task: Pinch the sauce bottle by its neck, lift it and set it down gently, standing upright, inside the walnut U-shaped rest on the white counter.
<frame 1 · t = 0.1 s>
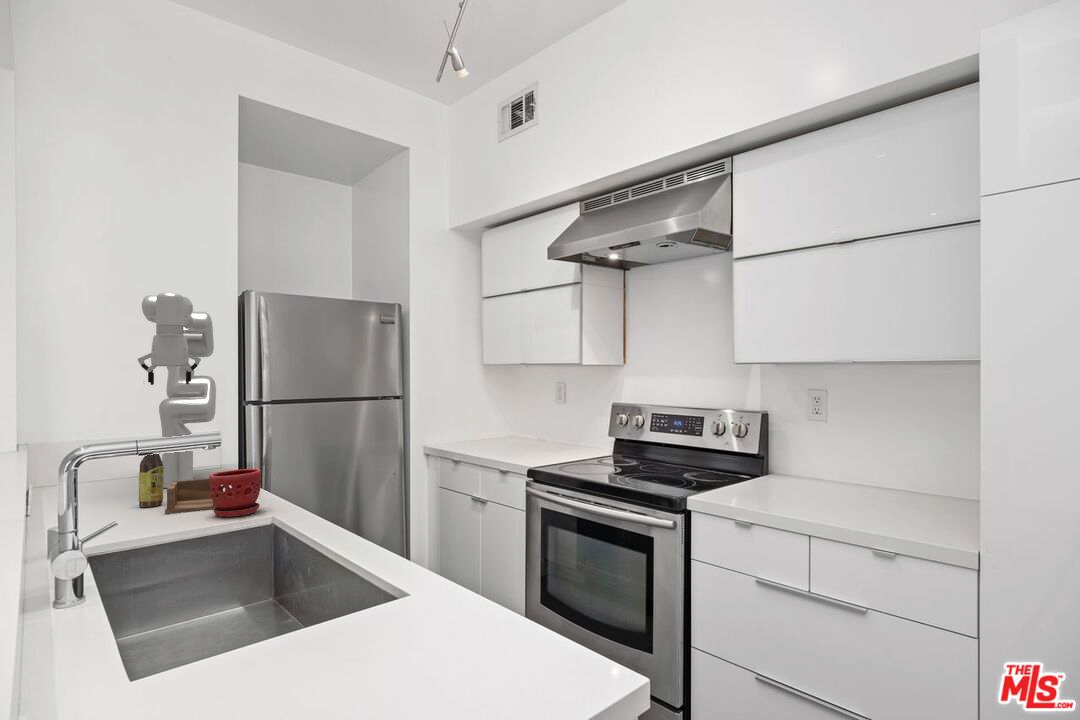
hand: (170, 384, 189), 37 cm above the worktop, tool pointing down, fingers open, 9 cm apart
sauce bottle: (151, 506, 178), on the worktop
u rest: (195, 506, 176), on the worktop
plant pot: (235, 514, 167), on the worktop
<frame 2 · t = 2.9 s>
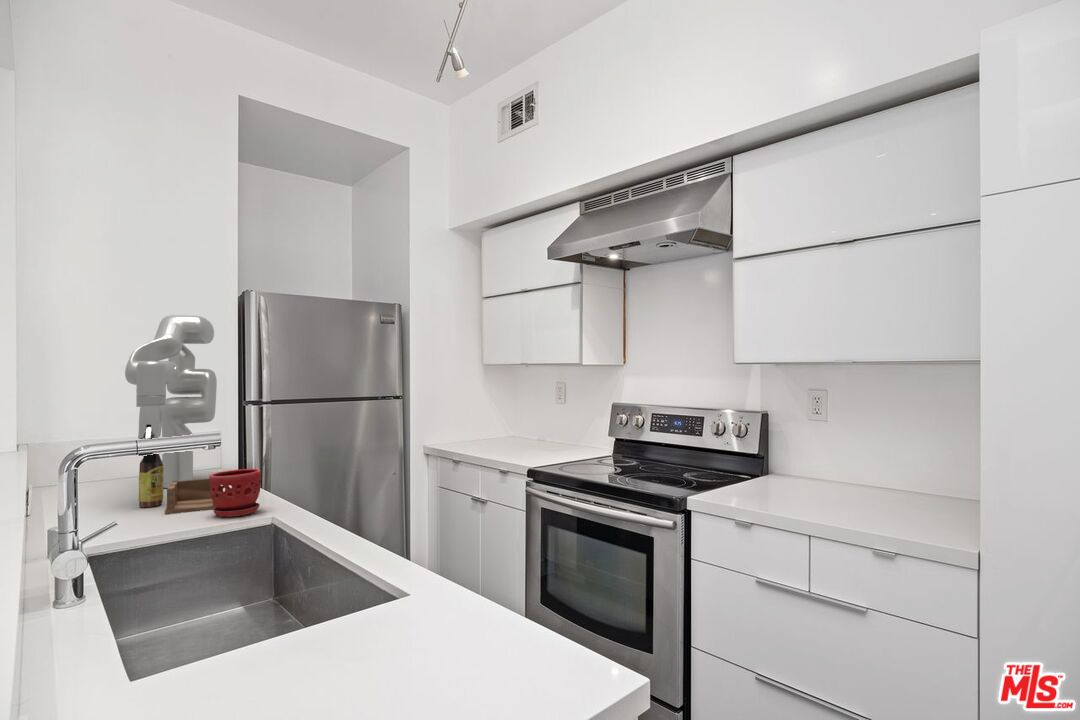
hand: (151, 460, 178), 14 cm above the worktop, tool pointing down, fingers closed on sauce bottle, 5 cm apart
sauce bottle: (151, 506, 178), on the worktop, touching gripper
everything else where it was.
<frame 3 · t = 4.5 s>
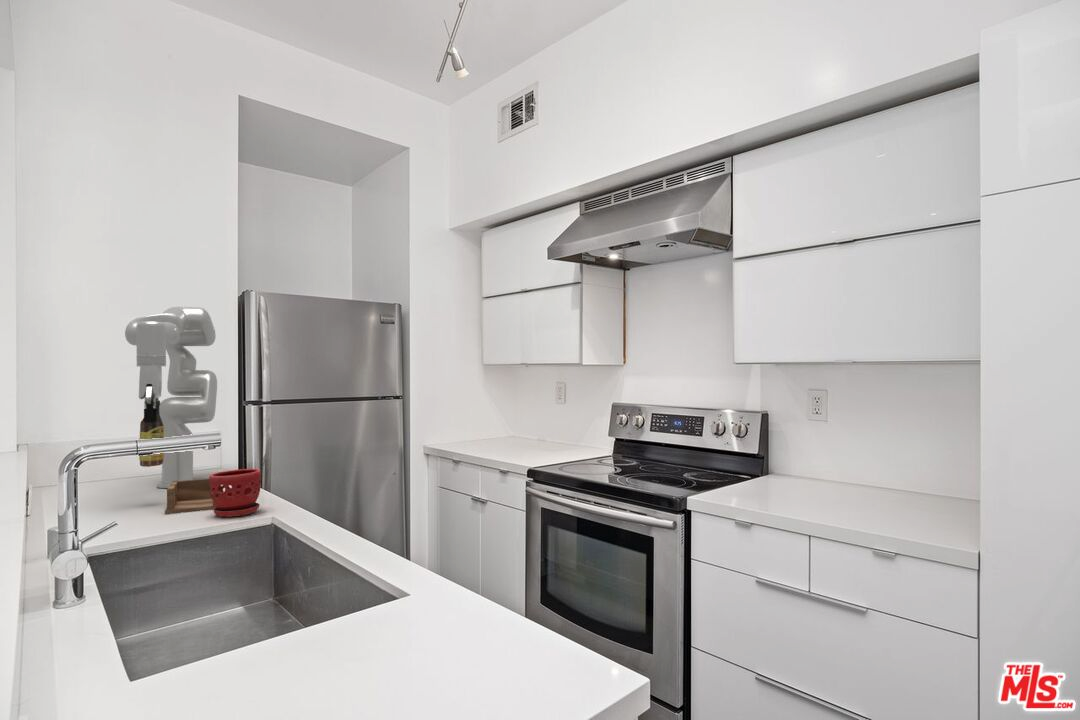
hand: (151, 420, 179), 26 cm above the worktop, tool pointing down, fingers closed on sauce bottle, 5 cm apart
sauce bottle: (152, 465, 179), point 12 cm above the worktop, touching gripper
everything else where it was.
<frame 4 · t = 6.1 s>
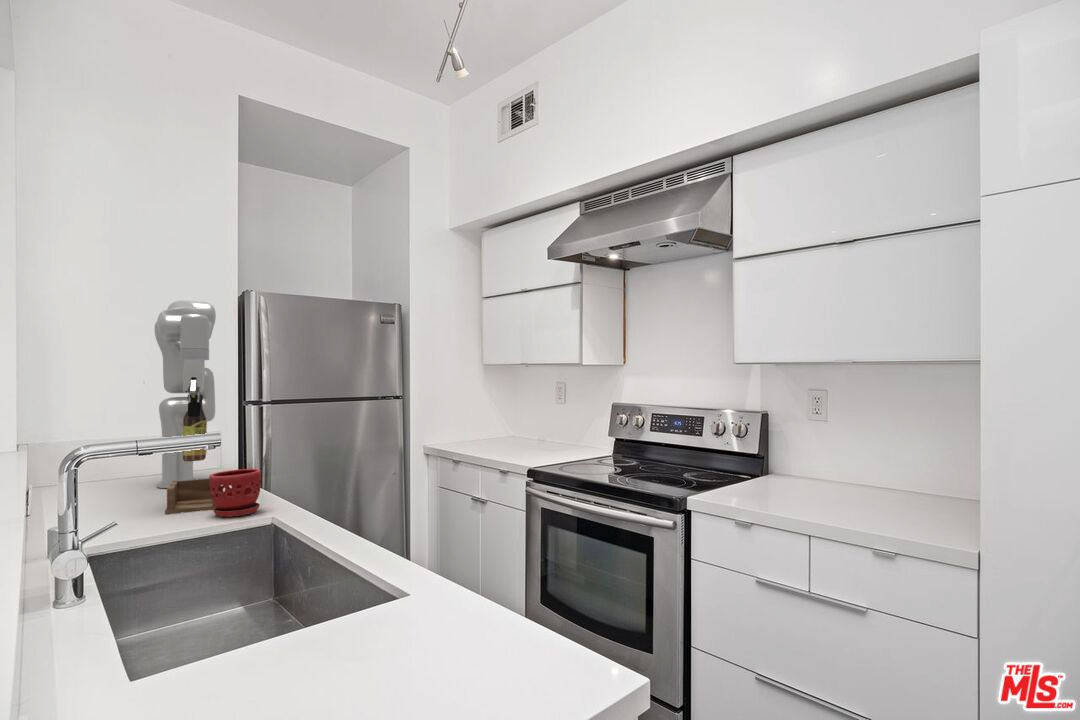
hand: (194, 414, 176), 28 cm above the worktop, tool pointing down, fingers closed on sauce bottle, 5 cm apart
sauce bottle: (194, 460, 176), point 14 cm above the worktop, touching gripper
everything else where it was.
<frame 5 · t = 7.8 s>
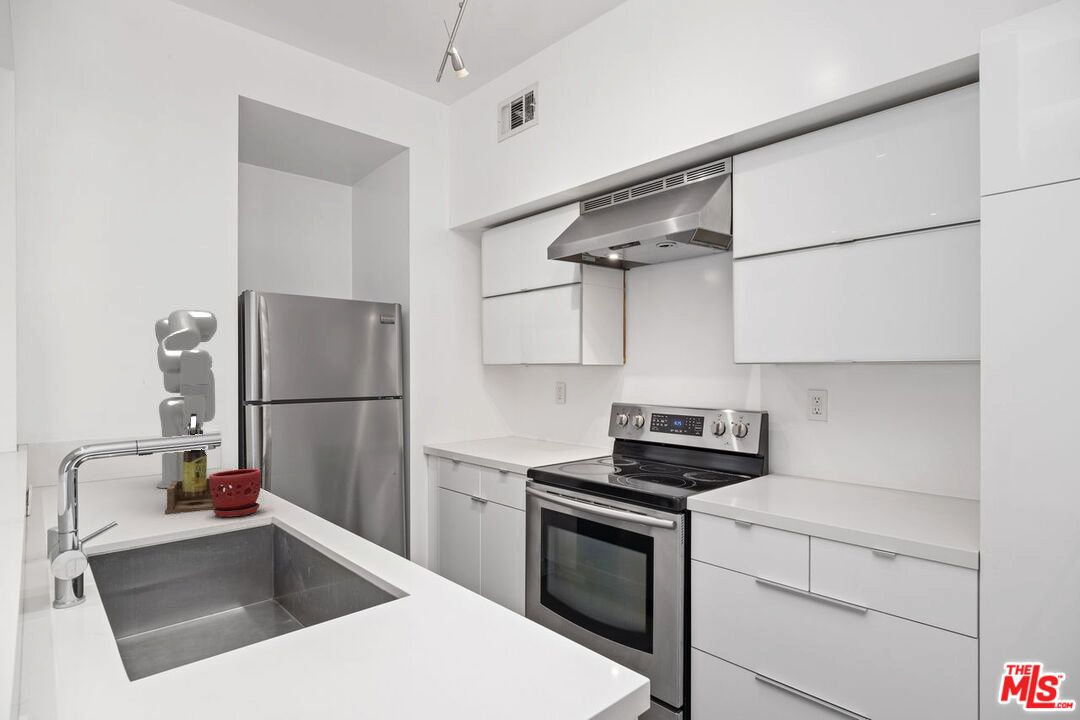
hand: (194, 450, 176), 17 cm above the worktop, tool pointing down, fingers closed on sauce bottle, 5 cm apart
sauce bottle: (194, 496, 176), point 3 cm above the worktop, touching gripper
everything else where it was.
when the fingers open (15 cm above the worktop, at t = 9.0 s): sauce bottle stays where it is, resting on u rest.
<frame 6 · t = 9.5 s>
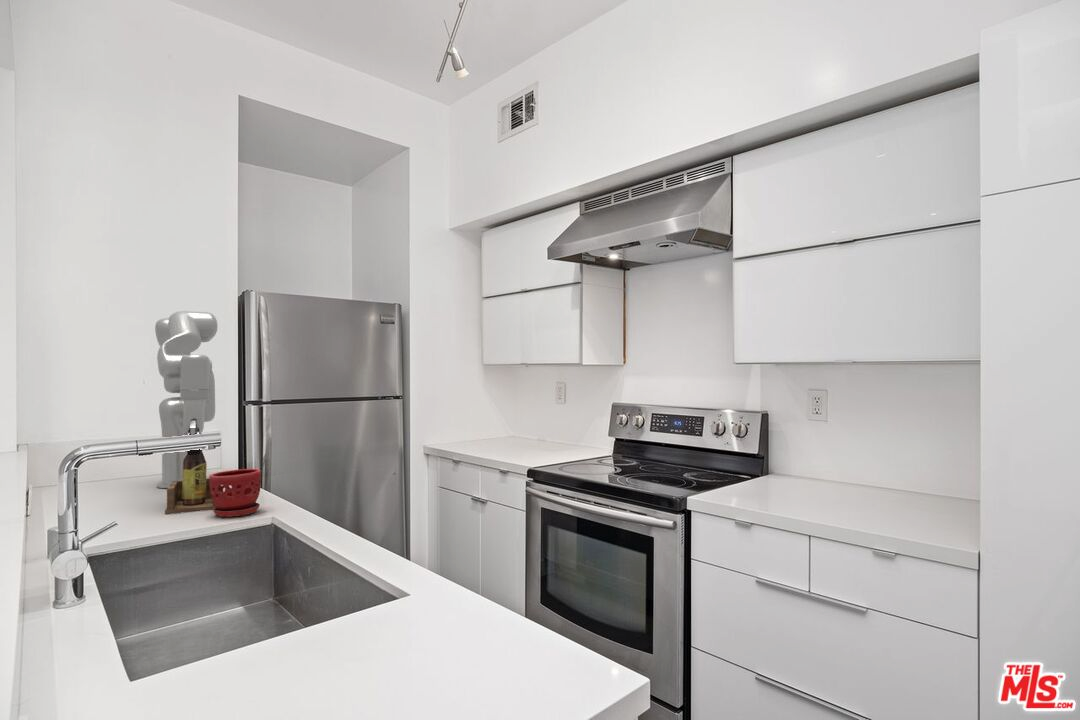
hand: (194, 452, 176), 16 cm above the worktop, tool pointing down, fingers open, 9 cm apart
sauce bottle: (194, 504, 176), point 1 cm above the worktop, touching u rest
everything else where it was.
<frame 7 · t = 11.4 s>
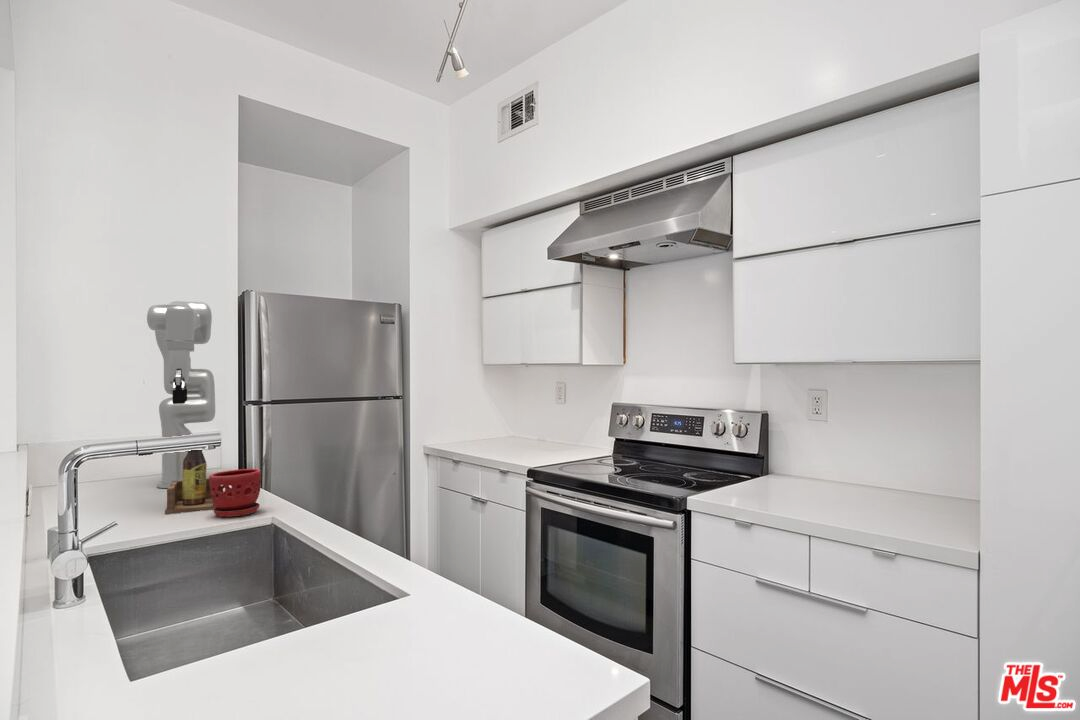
hand: (180, 402, 179), 31 cm above the worktop, tool pointing down, fingers open, 9 cm apart
nothing on the worktop moved.
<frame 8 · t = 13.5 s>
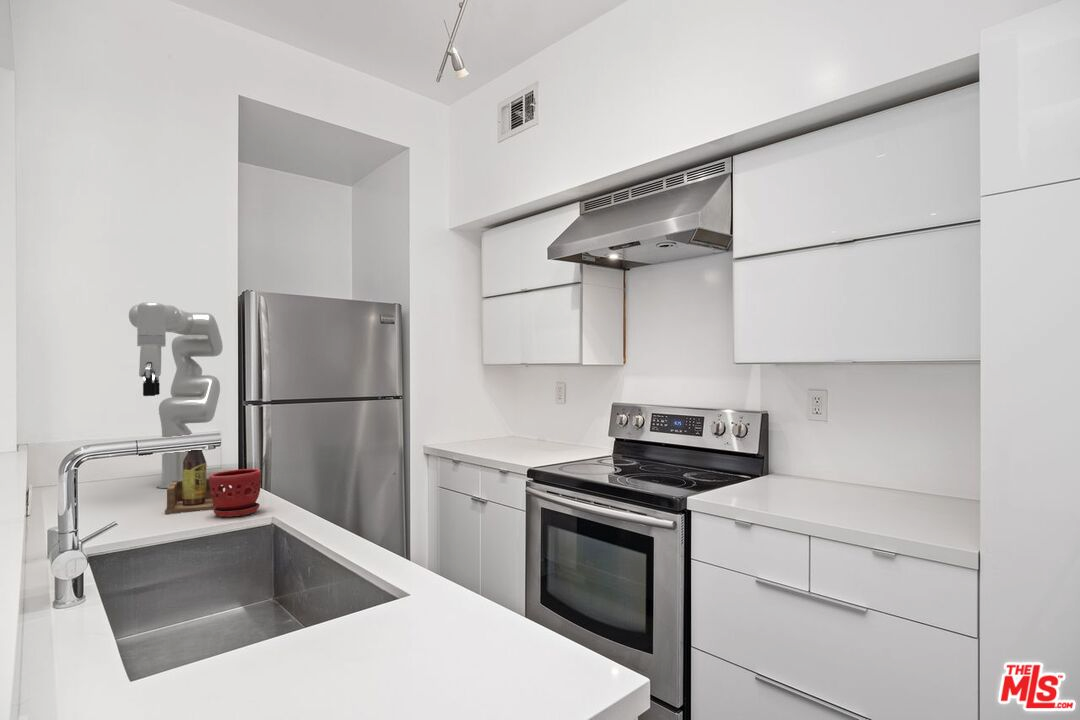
hand: (151, 395, 186), 33 cm above the worktop, tool pointing down, fingers open, 9 cm apart
nothing on the worktop moved.
at the end: sauce bottle inside the target area on the u rest (0.5 cm from its centre), point 0.8 cm above the u rest's base; sauce bottle tilted 0°; the gripper is holding nothing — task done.
